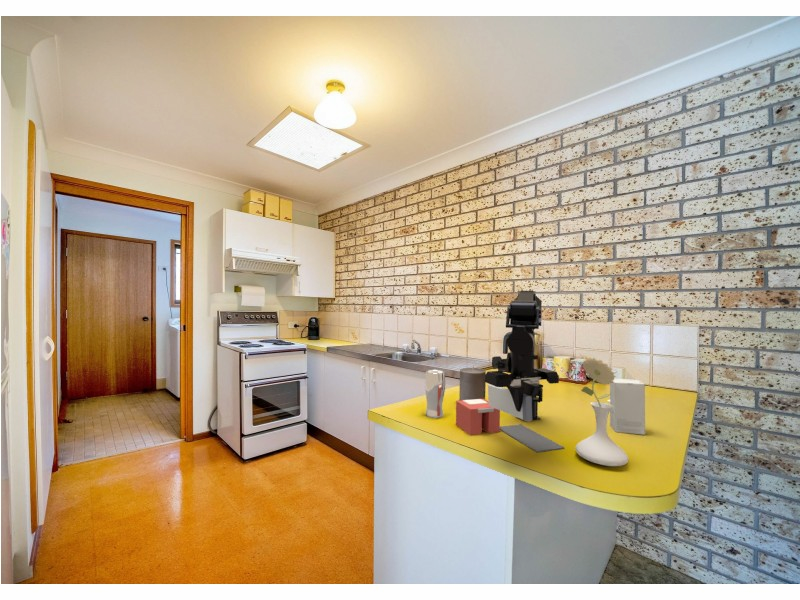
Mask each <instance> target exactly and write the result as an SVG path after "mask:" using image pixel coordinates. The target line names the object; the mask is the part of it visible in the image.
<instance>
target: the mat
mask: <svg viewBox="0 0 800 600" xmlns="http://www.w3.org/2000/svg"><path fill="white" fill-rule="evenodd" d="M500 431H501V432H502V433H504V434H505V435H507V436H508V437H511V438H512V439H514V440H515V441H517V442H519V443H520V444H522V445H524V446H525V447H527V448H529V449H530V450H532V451H533V452H534V453H535V452H536V453H543V452H550V451H559V450H564V449H565V447H564V446H562V445H561V444H559V443H557V442H556V441H553V440H552V439H549V438H548V437H546V436H544V435H542V434H541V433H538V432H537V431H534V430H533V429H531V428H529V427H527V426H526V425H524V424H513V425H509V424H508V425H502V426H501V425H500ZM565 450H566V449H565Z"/></svg>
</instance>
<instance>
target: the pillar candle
mask: <svg viewBox="0 0 800 600" xmlns="http://www.w3.org/2000/svg"><path fill="white" fill-rule="evenodd" d="M486 373H487V372H486V370H485V369H484V368H483V369H482V368H478V367H474V366H472V367H463V368H459V400H458V401H461V400H473V399H485V400H486V384H487V383H486V382H485V375H486Z"/></svg>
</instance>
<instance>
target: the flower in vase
mask: <svg viewBox="0 0 800 600" xmlns="http://www.w3.org/2000/svg"><path fill="white" fill-rule="evenodd" d="M582 365H583V366H582V369H583V370H584V371H585V373H586V374H587V376H588V377H589V378H590V379H592V383H591V384H592V385H591V388H590V387H588V386H583V388H581V390H580V392H583V393H584V394H587V395H588V396H593V395H594V397H595V399H596V400H597V401H591V402H590V405H591V408H592V409H593V410H594V411H593V412H594V414H595V415H594V416H595V420H596V421H595V423H596V424H595V425H596V427H595V432H594V433H593V434H592V435H590V436H588V437H586V438H584V439H582V440H581V441H579V442H578V443H577V444H576V446H575V448H574V449H575V452H576V453H577V454H578V455H579V456H580V457H581V458H583V459H585V460H587V461H588V462H591V463H594V464H597V465H601V466H606V467H621V466H625V465H626V464H627V463H628V462H629V456H628V454H627V453H626V451H624V450H623V448H621V446H619V445H618V444H617V443H616V442H615V441H614V440H613V439H611V438H610V436H609V434H608V431H607V427H608V425H607V424H608V417H609V415H610V410H611V409H612V408H613V406H612V405H610V403H607V402H606V403H605V402H601V401H600V400H601V399H605V398H607V397H610V395H611V394H612V393H611V394H610V393H608V394H607V393H606V394H603V395H601V396H599V397H598V396H597V394H596V392H595V390H594V386H595V381H596V382H597V383H598V384H601V385H606V384H607V385H610V383H614V382H613V381H612V380H614V378H616V376H615V372H614V371H612V370H613V368H612V366H609V365H608V363H605V362H603V360H602V359H597V358H595V357H593V358H592V357H590V358H589V359H586V358H585V360H583V363H582Z"/></svg>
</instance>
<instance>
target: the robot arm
mask: <svg viewBox="0 0 800 600" xmlns="http://www.w3.org/2000/svg"><path fill="white" fill-rule="evenodd" d="M542 308H543V307H542V300H541V299H540V298H539V296H537V295H536V291H534V290H520V291H518V292H517V296H516V298H514V300H511V301H510V303H509V305H508V304H507V308H506V309H507V310H506V320H505V328H510V329H511V332H510V334H509V336H508V337H507V340H506V343H507V345H506V346H507V348H508V350H509V351H510V352H507V354H506V358H502V357H501V356H498V355H497V356H492V357H491V368H492V369H493V370H490V371H487V372H486V375H485V382H486V384H488V385H493V386H495V387H502V388H506V389H509V391H510V393H511V396H512V399H513V402H514V405H515V407H516V410H517V411H518V412H520V411H521V407H522V401H523V395H524V394H526V395H529V396H531V397H532V421H540V420H541V417H539V416H538V414H539V413H538V411H539V410H538V409H539V408H538V405H539V404H538V403H541V402H543V396H544V395H543V391H544V390H543V387H544V385H543V384H541V383H540V381H543V380H546V382H547V383H548V384H551V385H552V384H560V375H559V374H558V372H557V371H555V370H552V369H547V368H545V367H544V368H535V361H536V360H539V354H538V355H537V354H535V353H536V351H535V346H536V345H535V341H536V336H535V335H536V332H535V330H539V328H540V327H541V326H542V320H543V319H542V314H543V311H542ZM539 326H540V327H539ZM523 421H524V422H526V421H525V420H523Z"/></svg>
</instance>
